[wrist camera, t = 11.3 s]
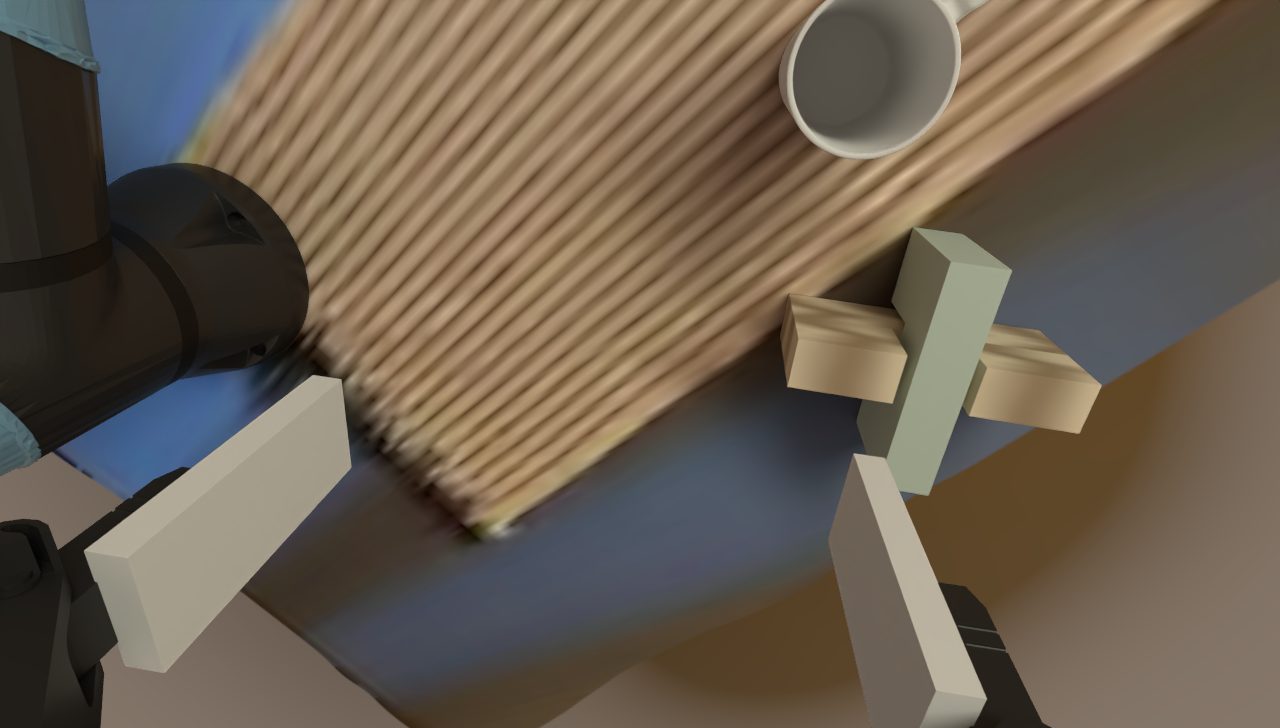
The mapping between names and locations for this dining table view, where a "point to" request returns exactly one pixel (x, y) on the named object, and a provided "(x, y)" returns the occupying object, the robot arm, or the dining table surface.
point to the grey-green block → (933, 352)
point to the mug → (872, 72)
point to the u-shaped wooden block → (874, 358)
